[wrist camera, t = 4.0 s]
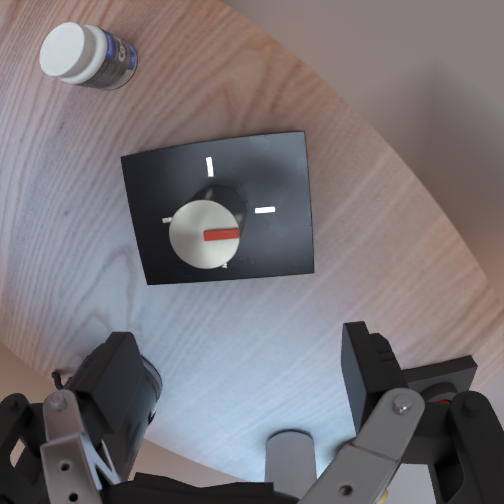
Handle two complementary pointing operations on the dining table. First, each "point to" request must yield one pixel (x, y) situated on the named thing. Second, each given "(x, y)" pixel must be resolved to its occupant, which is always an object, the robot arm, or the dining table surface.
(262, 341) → the dining table surface
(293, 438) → the beverage can
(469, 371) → the button block
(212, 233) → the knob
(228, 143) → the panel
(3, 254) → the dining table surface
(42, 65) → the pill bottle
